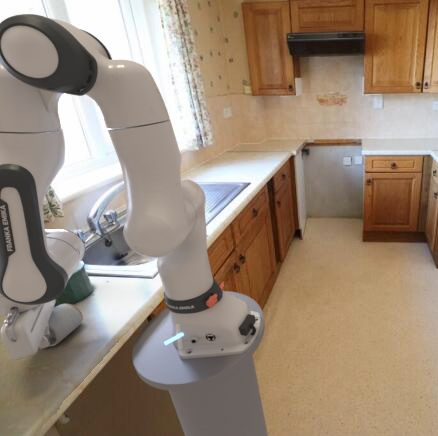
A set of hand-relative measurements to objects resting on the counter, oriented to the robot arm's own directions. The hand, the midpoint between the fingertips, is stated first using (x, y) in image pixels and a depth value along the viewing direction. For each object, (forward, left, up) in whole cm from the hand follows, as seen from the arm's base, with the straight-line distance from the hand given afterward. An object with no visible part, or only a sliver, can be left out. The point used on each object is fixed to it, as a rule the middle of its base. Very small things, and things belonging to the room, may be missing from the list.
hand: (46, 343), depth 74 cm
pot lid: (+14, -21, +5) cm, 26 cm away
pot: (+14, -21, -4) cm, 26 cm away
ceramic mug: (+4, -6, -4) cm, 8 cm away
